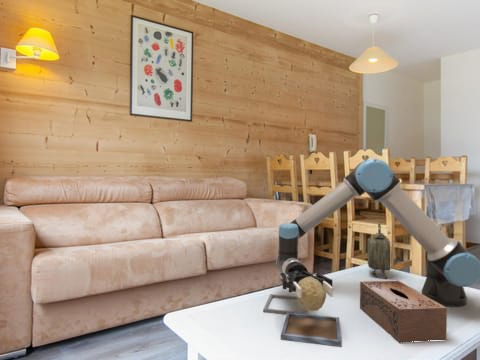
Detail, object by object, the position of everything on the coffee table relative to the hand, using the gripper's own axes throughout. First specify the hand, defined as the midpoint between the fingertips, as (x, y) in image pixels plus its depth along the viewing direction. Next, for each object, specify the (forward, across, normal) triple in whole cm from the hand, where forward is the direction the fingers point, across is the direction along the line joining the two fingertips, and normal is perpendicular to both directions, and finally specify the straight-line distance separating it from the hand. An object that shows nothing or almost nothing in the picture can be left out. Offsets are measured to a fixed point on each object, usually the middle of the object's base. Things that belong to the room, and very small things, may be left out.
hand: (316, 292), depth 103 cm
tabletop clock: (-58, -51, -13) cm, 78 cm away
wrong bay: (-25, +2, -13) cm, 28 cm away
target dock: (-4, 0, -13) cm, 14 cm away
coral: (-4, 0, -7) cm, 8 cm away
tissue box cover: (-6, -30, -14) cm, 34 cm away
